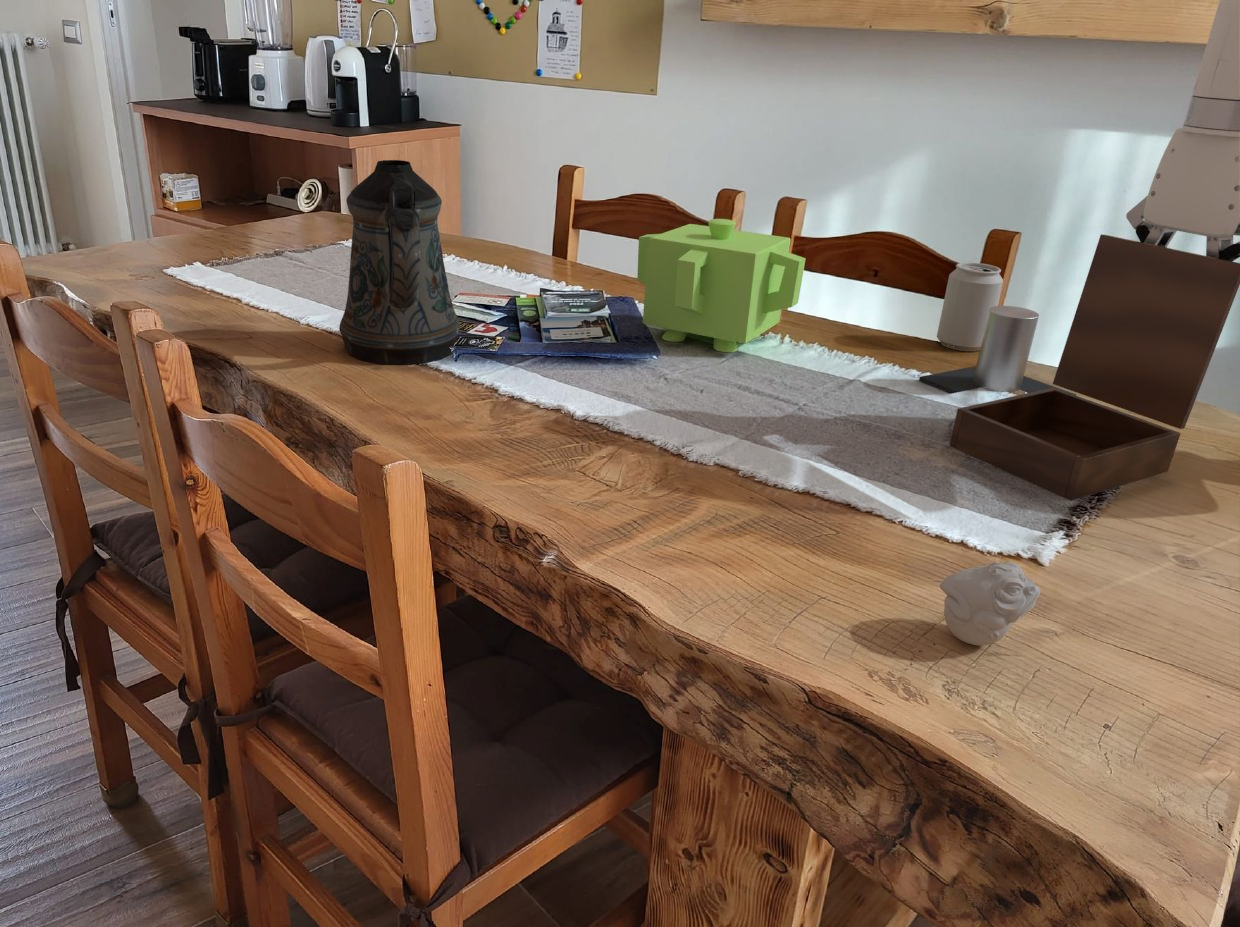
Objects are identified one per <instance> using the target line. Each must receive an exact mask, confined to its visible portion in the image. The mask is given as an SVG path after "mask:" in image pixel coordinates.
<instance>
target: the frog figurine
mask: <svg viewBox="0 0 1240 927" xmlns="http://www.w3.org/2000/svg"><path fill="white" fill-rule="evenodd" d="M939 588H940V590H941V591H942V592H943V593H944V594H945V595H946V597H944V603H943V605H944V606H943V607H944V608H943V614H944V615H943V616H944V620H945V624H946V626H947V628H948V629H949V630H950V632H951V634H953V635H954V636H955V638H957V639H958V640H960V641H962V642H964V643H966V644H969V645H973V646H987V645H988V646H989V645H992V644H994V643H997V642H998V641H1000V640H1002V639H1003V638H1004V637H1005V636H1006V635H1007V634H1008V633H1009V631H1010V630H1011V628H1012V625H1013V624H1015V623H1017V622H1018V621H1019V620H1020V619H1021V618H1023V617H1024V616H1025V615H1027V614H1028V612H1030V611H1031V610H1033V609H1034V607H1035V606H1036V602H1037V599H1038V598H1039V597H1040V595H1041V588H1040V586H1038V585H1037V584H1036V583H1035V581H1034V580H1033V579H1032V578H1030V577H1026V576H1025V573H1024V571H1023V568H1022V567H1021V566H1020V565H1019V564H1018V563H1016V562H1014V561H1013V562H1012V561H1004V562H998V561H993V562H990V563H989V564H988V565H979V566H975V567H969V568H965V569H962V570H960V571H959V570H958V571H957V572H954V573H952V574H950V575H949V576H947V577H945V578H944V579H943V580H942V581H941V583H940V584H939Z"/></svg>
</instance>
